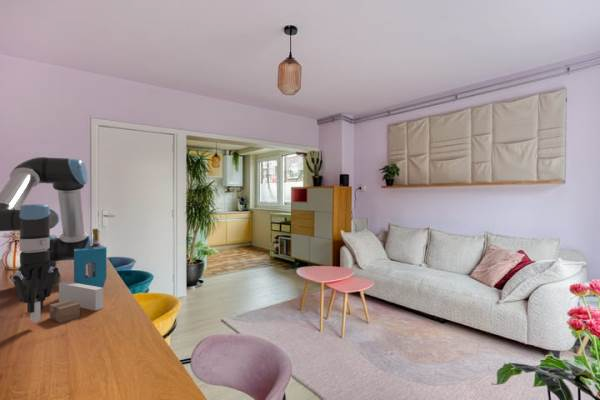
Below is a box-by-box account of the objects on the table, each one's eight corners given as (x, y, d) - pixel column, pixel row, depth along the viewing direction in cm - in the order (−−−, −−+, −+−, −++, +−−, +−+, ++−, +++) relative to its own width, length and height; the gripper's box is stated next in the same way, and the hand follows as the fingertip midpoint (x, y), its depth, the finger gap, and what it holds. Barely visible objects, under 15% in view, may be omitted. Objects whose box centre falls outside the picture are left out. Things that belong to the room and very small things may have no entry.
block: (74, 296, 132) (73, 250, 132) (74, 293, 136) (73, 249, 136) (106, 291, 139) (106, 248, 139) (105, 288, 143) (105, 246, 143)
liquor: (106, 284, 150) (106, 227, 149) (104, 288, 143) (104, 229, 143) (88, 286, 147) (88, 228, 146) (85, 290, 140) (85, 230, 140)
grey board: (59, 302, 125) (58, 283, 124) (66, 300, 127) (66, 281, 127) (95, 310, 116) (95, 290, 116) (103, 308, 119) (103, 287, 119)
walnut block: (49, 318, 110) (49, 304, 109) (69, 312, 115) (69, 299, 115) (59, 323, 105) (59, 309, 105) (79, 317, 111) (79, 303, 110)
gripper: (17, 254, 94) (18, 330, 94) (63, 248, 106) (63, 315, 106) (3, 253, 97) (4, 326, 97) (50, 246, 109) (50, 312, 109)
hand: (35, 320), depth 102 cm, fingers closed
